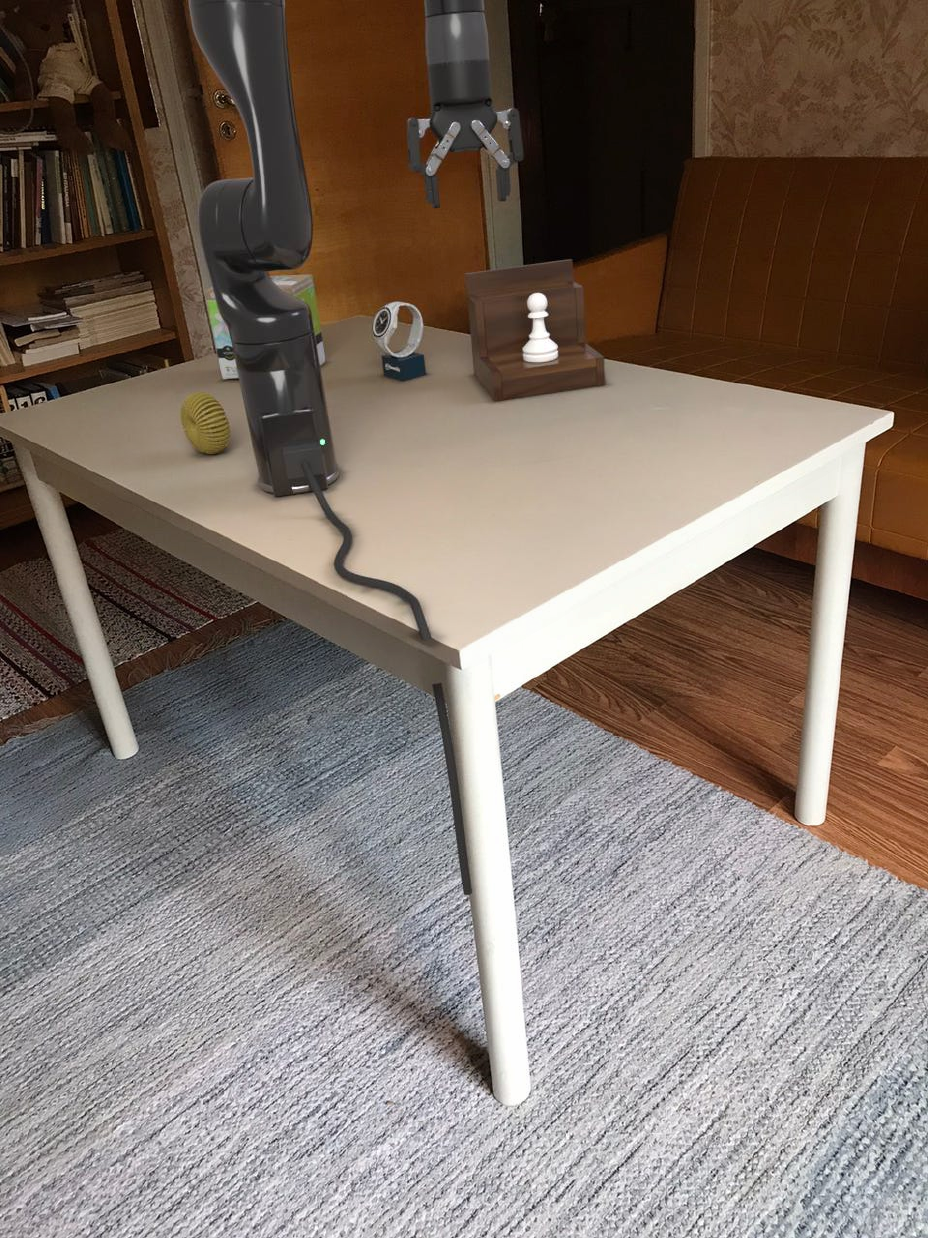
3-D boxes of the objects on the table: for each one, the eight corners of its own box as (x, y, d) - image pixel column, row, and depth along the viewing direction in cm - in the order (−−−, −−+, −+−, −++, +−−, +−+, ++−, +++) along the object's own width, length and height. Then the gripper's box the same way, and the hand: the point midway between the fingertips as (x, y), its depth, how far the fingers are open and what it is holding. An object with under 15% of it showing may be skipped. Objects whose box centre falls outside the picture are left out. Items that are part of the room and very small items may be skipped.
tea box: (221, 381, 165) (201, 288, 158) (246, 365, 174) (229, 276, 167) (305, 379, 161) (289, 283, 154) (328, 362, 170) (313, 271, 163)
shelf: (605, 384, 142) (601, 274, 135) (494, 401, 140) (485, 290, 133) (575, 360, 155) (571, 258, 148) (474, 375, 153) (464, 273, 146)
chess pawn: (517, 362, 142) (512, 297, 138) (530, 353, 146) (526, 289, 142) (551, 363, 140) (547, 296, 136) (563, 353, 144) (560, 288, 139)
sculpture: (241, 453, 131) (228, 393, 127) (214, 463, 129) (200, 402, 125) (209, 443, 136) (196, 385, 132) (183, 452, 134) (168, 393, 130)
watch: (373, 378, 158) (363, 306, 152) (415, 366, 162) (407, 296, 156) (392, 384, 154) (382, 310, 148) (435, 371, 157) (427, 299, 152)
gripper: (403, 62, 117) (417, 212, 124) (522, 51, 118) (530, 200, 126) (396, 65, 123) (410, 207, 131) (509, 55, 125) (517, 196, 132)
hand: (469, 204), depth 128 cm, fingers open, 8 cm apart
